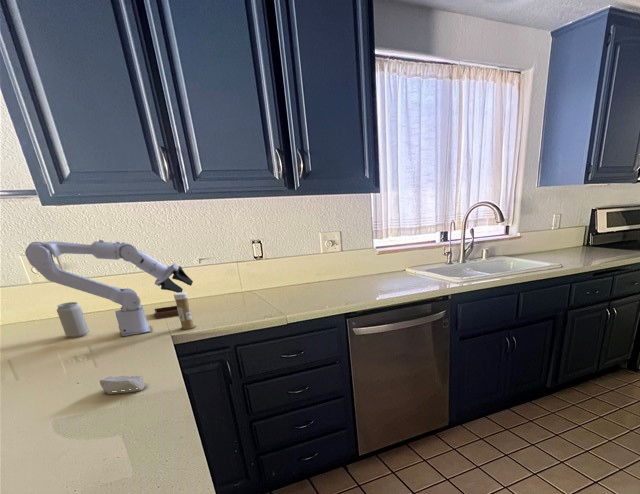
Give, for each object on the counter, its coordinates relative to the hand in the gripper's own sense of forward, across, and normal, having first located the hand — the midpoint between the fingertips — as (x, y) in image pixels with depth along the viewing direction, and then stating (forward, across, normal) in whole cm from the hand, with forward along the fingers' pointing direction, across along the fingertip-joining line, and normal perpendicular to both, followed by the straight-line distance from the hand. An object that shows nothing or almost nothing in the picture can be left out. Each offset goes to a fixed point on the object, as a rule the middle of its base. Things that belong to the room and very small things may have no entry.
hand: (186, 287), depth 167 cm
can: (-20, +31, +22) cm, 43 cm away
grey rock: (-13, -23, +60) cm, 66 cm away
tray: (+5, +24, -1) cm, 24 cm away
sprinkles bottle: (+6, +3, +15) cm, 16 cm away
